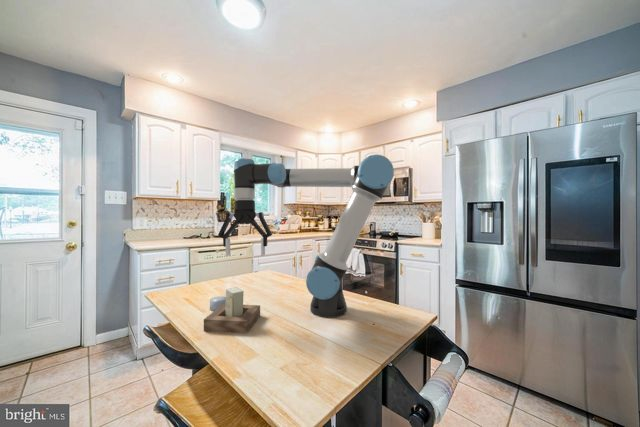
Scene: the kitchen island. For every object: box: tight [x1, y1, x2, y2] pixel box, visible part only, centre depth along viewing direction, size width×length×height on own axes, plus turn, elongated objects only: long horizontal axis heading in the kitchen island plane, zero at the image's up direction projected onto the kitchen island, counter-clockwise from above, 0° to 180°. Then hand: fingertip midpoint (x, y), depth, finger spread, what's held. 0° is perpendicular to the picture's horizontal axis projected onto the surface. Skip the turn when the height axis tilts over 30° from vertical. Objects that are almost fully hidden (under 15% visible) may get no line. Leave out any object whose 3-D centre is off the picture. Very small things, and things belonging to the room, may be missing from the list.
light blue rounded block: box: [209, 295, 226, 312], centre depth 111 cm, size 7×7×4 cm
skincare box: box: [225, 287, 244, 317], centre depth 97 cm, size 6×4×12 cm
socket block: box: [203, 304, 261, 334], centre depth 97 cm, size 15×15×4 cm
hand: (245, 255), depth 102 cm, fingers open, 13 cm apart
